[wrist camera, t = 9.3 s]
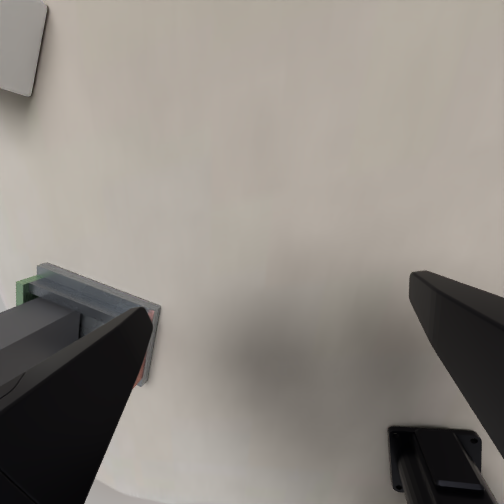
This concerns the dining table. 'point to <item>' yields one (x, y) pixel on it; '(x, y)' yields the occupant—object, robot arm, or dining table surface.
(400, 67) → the dining table surface
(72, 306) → the grey rectangular tray
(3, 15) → the medicine bottle
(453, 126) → the dining table surface
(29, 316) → the block
